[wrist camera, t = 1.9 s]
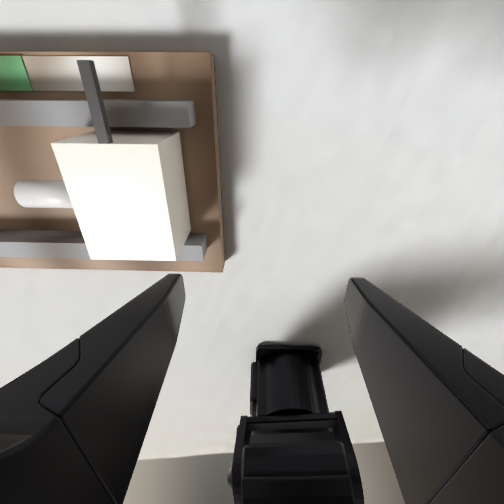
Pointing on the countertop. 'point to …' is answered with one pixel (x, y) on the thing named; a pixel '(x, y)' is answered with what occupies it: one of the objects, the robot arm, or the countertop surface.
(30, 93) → the gauge base
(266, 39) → the countertop surface
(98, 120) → the carriage
